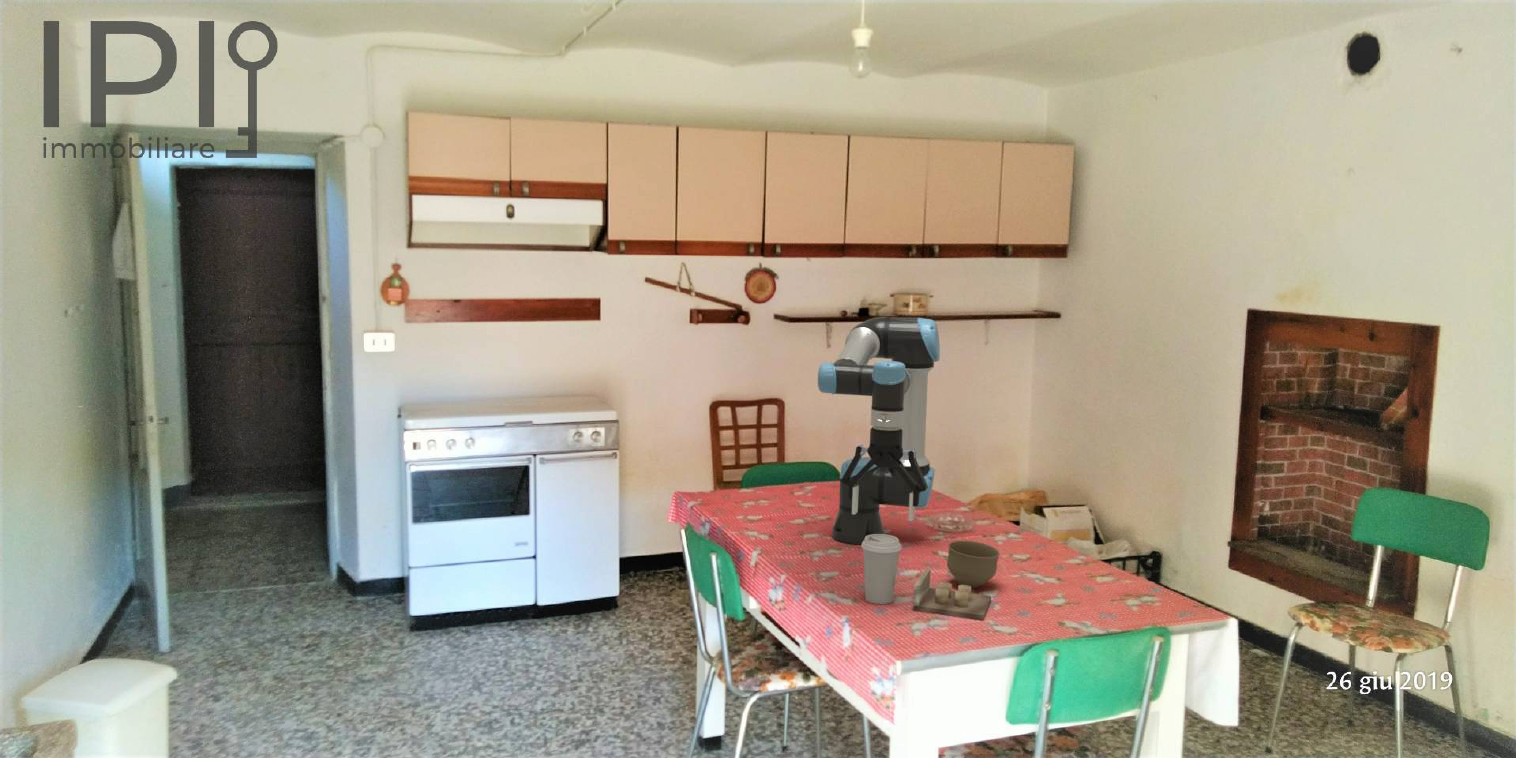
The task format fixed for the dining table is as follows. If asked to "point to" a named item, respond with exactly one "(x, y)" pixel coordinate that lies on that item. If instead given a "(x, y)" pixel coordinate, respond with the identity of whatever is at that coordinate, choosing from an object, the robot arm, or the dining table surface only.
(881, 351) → the robot arm
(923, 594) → the peg stand
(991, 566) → the bowl
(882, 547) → the coffee cup
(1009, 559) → the dining table surface
